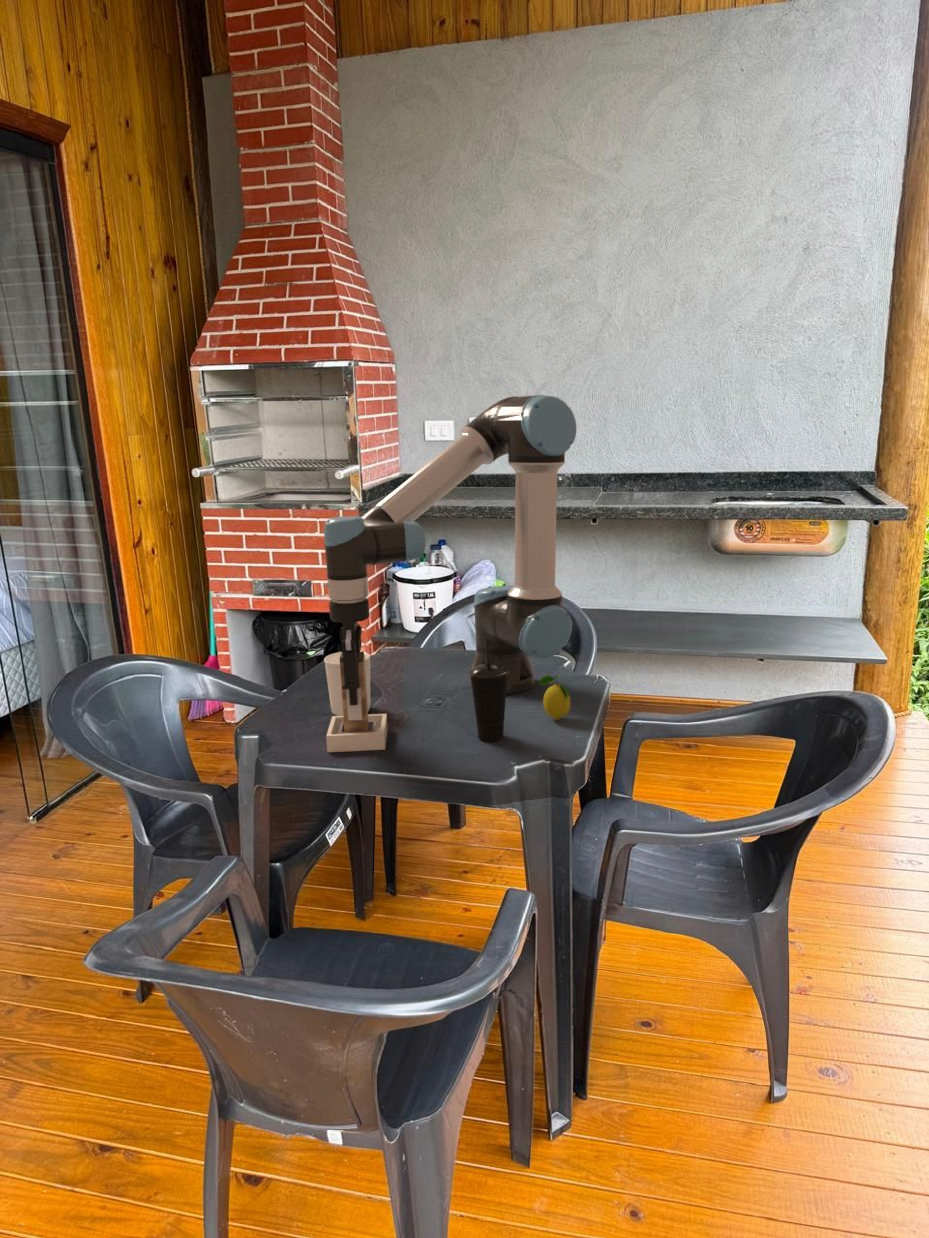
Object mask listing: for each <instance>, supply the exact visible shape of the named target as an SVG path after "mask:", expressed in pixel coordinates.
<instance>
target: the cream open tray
mask: <svg viewBox="0 0 929 1238" xmlns="http://www.w3.org/2000/svg"><path fill="white" fill-rule="evenodd" d="M388 728H389V727H388V716H387V713H371V714H369V713H368V730H367V731H353V732H345V730H344V716H337V715H335V716H334V715H333V716H331V719H330V722H329V726H328V729H327V733H326V734H325V735H326V736H325V737H326V740H325V741H326V751H327V753H337V752H338V753H342V752H360V751H382V750H386V746H387V745H386V744H387V736H388Z"/></svg>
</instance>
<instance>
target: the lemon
mask: <svg viewBox="0 0 929 1238" xmlns="http://www.w3.org/2000/svg"><path fill="white" fill-rule="evenodd" d="M554 682H555V684H553V685H551V686H549V687H548V688H547V690H546V691H545V693H544V695H543V699H542V704H543V710H544V711H545V713H546V714H547V715H548V716H549V717H552V718H553V719H554V720H555V721H559V720H560V719H561V718H563V717H565V716H567V714H568V713H569V712H570V710H571V700H572V697H571V694H570V692H569V691H568V689H567V688H566V687H565V686H564V684H562V683H559V682H558V673H556V674H555V677H552V676H551V675H544V676H542V677H541V678H540V680H539V683H538V685H540V686H545V685H549V684H552V683H554Z"/></svg>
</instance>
